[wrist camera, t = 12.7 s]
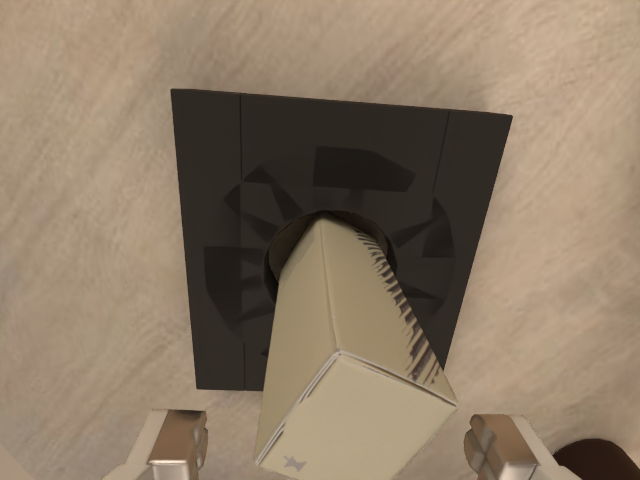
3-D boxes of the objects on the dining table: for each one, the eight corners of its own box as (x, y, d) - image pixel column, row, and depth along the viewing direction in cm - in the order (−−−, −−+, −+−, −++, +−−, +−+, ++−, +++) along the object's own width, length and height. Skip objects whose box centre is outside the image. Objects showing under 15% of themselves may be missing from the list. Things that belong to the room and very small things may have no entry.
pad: (206, 362, 25) (196, 389, 23) (187, 88, 18) (169, 88, 16) (425, 369, 26) (436, 396, 24) (489, 112, 19) (514, 115, 17)
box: (336, 299, 23) (367, 515, 11) (277, 270, 22) (244, 475, 10) (380, 234, 21) (471, 411, 10) (319, 201, 20) (335, 351, 9)
